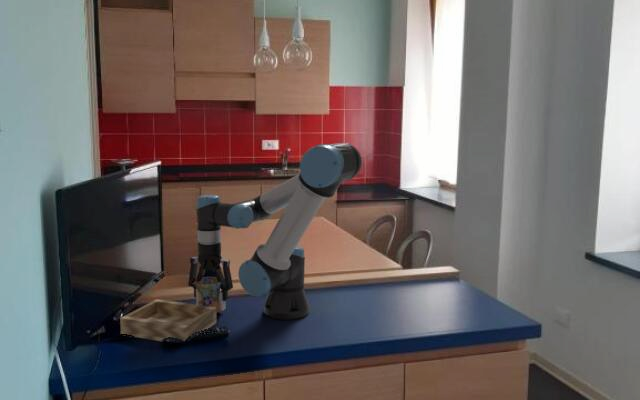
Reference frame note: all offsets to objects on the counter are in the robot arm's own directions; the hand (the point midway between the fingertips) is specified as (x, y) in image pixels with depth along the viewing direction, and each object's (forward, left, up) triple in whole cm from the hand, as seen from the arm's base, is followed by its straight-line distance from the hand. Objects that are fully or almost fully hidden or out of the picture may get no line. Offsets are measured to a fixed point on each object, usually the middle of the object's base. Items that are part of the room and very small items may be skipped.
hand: (211, 308), depth 202 cm
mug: (+1, 0, -1) cm, 1 cm away
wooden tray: (+4, +18, -1) cm, 19 cm away
